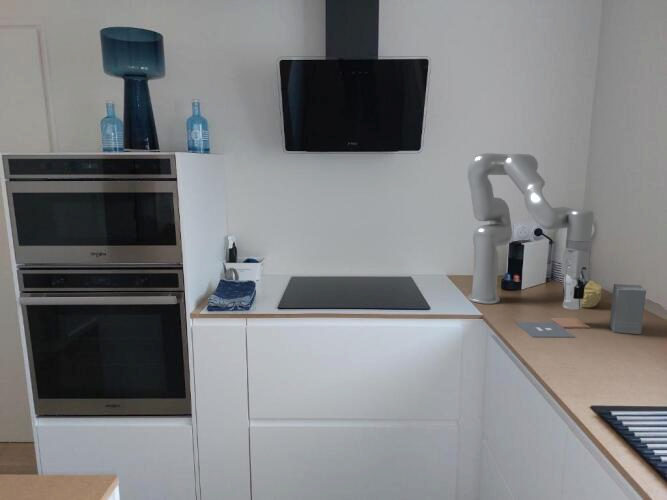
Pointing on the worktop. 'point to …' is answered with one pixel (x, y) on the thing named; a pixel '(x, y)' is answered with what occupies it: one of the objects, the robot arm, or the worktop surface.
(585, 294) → the sculpture
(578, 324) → the coaster
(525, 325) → the blue-grey tile
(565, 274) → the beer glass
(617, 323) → the skincare box
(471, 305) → the worktop surface
